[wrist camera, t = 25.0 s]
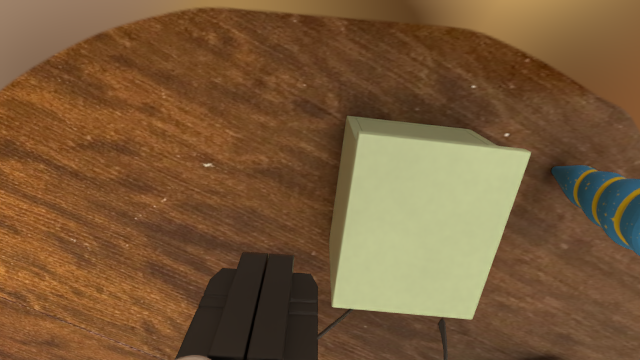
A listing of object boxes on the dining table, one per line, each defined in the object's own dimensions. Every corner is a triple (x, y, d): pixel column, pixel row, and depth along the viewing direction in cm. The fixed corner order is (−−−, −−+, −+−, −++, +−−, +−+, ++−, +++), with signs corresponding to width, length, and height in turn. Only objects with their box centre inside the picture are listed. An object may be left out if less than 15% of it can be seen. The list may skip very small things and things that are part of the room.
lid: (357, 130, 23) (358, 133, 23) (525, 148, 24) (531, 152, 23) (331, 300, 29) (331, 307, 28) (468, 312, 29) (472, 319, 28)
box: (346, 115, 32) (355, 141, 24) (470, 129, 32) (521, 159, 24) (328, 242, 37) (331, 300, 29) (436, 252, 37) (468, 312, 29)
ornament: (517, 181, 34) (652, 277, 20) (548, 133, 32) (720, 204, 19) (561, 199, 35) (720, 304, 21) (594, 153, 33) (792, 235, 19)
